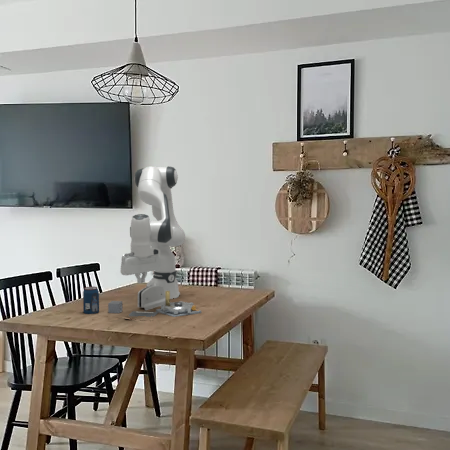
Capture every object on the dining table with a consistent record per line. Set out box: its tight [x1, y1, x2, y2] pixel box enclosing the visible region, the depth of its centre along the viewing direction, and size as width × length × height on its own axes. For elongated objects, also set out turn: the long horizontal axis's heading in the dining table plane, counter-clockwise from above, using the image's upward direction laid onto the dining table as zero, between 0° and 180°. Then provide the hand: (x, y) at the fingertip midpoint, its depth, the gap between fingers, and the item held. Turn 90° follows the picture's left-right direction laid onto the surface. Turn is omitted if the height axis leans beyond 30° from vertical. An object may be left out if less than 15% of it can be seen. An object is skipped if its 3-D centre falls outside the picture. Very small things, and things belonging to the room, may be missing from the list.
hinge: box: [137, 286, 165, 312], centre depth 248 cm, size 17×5×10 cm, turn 147°
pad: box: [128, 310, 159, 318], centre depth 230 cm, size 12×12×1 cm
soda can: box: [82, 286, 100, 315], centre depth 234 cm, size 7×7×12 cm
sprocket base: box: [155, 308, 202, 318], centre depth 237 cm, size 15×15×1 cm
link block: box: [107, 300, 124, 314], centre depth 236 cm, size 5×5×5 cm
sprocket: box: [160, 291, 197, 314], centre depth 237 cm, size 16×16×8 cm
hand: (141, 282), depth 228 cm, fingers closed
